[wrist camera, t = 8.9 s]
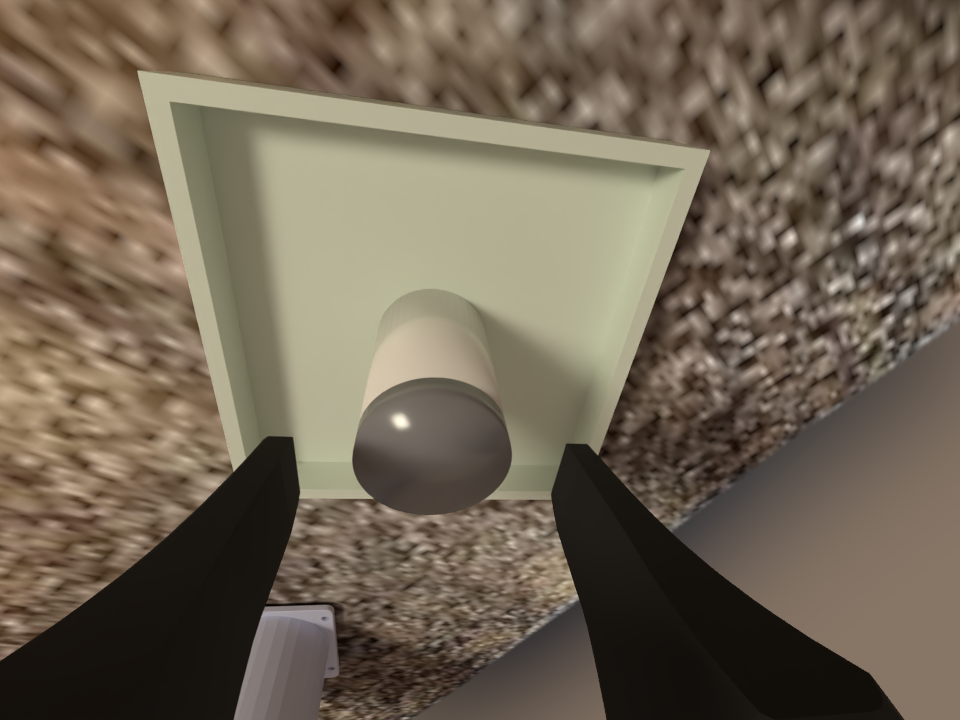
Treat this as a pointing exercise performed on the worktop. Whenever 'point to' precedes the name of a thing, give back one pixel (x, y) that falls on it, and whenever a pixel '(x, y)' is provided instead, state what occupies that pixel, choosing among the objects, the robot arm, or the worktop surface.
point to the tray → (410, 257)
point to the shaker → (431, 409)
